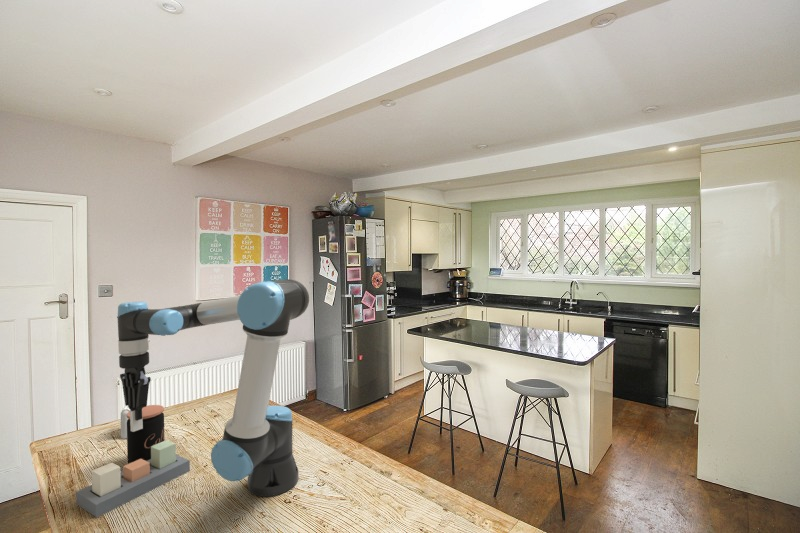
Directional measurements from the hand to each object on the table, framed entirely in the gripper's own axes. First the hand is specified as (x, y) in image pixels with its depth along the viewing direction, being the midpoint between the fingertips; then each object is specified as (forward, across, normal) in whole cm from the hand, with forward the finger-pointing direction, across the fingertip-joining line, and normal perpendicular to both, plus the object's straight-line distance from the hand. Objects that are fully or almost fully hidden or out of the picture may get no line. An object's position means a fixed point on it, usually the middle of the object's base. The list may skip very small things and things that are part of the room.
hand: (136, 429), depth 117 cm
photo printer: (+17, +41, -18) cm, 48 cm away
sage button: (+15, +1, -8) cm, 17 cm away
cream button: (+15, +1, +8) cm, 17 cm away
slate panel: (+18, +1, 0) cm, 18 cm away
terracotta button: (+17, +1, 0) cm, 17 cm away
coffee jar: (+18, +12, -9) cm, 23 cm away
